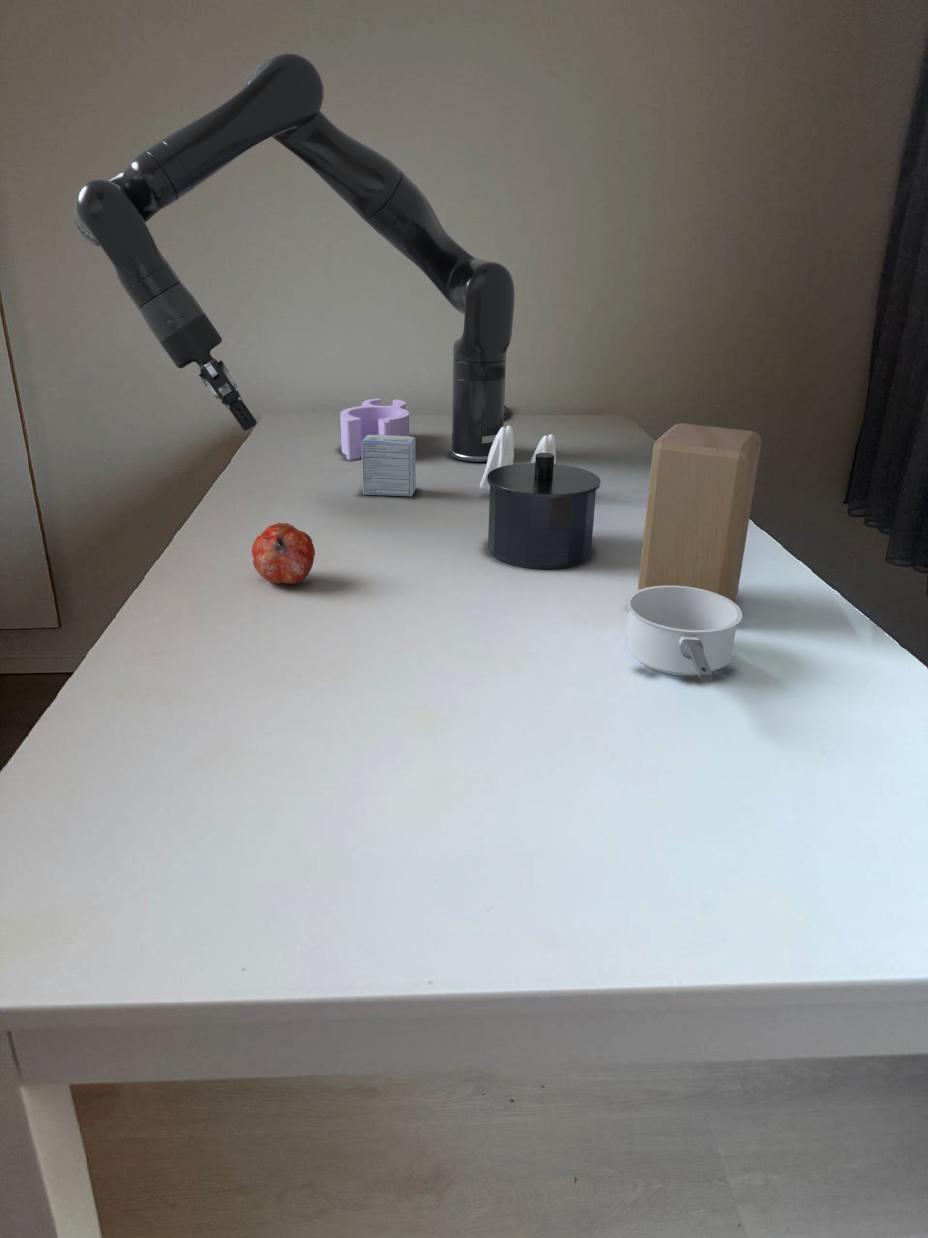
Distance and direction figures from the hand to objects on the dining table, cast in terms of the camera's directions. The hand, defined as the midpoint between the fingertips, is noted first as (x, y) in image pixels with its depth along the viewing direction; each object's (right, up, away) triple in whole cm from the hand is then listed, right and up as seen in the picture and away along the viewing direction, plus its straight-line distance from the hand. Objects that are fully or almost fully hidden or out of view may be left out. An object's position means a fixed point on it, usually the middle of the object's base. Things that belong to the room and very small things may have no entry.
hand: (249, 424), depth 132 cm
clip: (+15, +4, +37) cm, 41 cm away
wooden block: (+57, -27, -27) cm, 69 cm away
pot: (+41, -19, -11) cm, 47 cm away
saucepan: (+53, -34, -43) cm, 76 cm away
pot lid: (+42, -11, -15) cm, 46 cm away
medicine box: (+19, -8, +11) cm, 24 cm away
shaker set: (+40, -9, +11) cm, 42 cm away
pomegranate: (+10, -24, -22) cm, 34 cm away
